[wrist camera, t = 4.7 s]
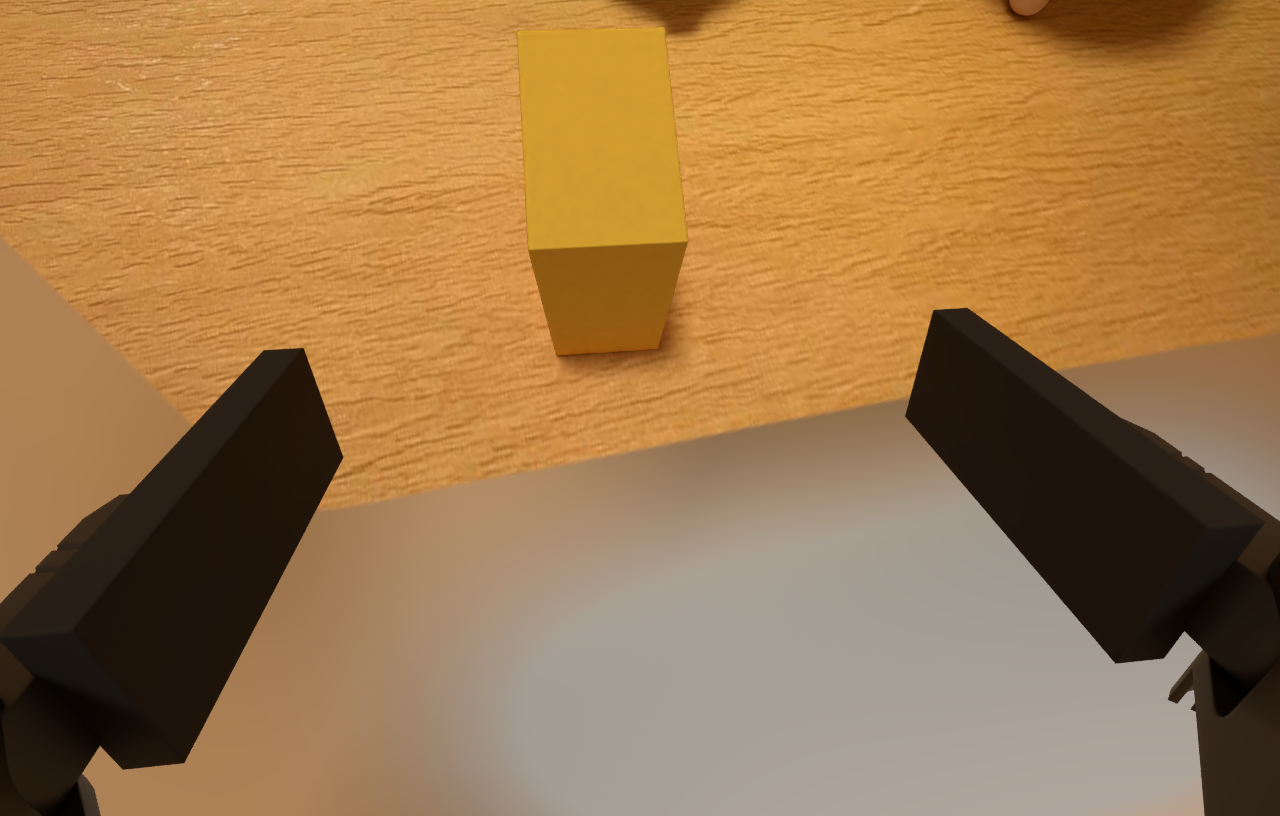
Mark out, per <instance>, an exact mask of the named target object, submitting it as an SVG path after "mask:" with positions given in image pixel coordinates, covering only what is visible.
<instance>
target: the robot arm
mask: <svg viewBox="0 0 1280 816" xmlns="http://www.w3.org/2000/svg"><path fill="white" fill-rule="evenodd" d="M905 417H906V418H907V419H908V420H909V421H910V423H911V424H912V425H913V426H914V427H915V428H916V430H917V431H918V432H919V433H920V434H921V436H922V437H923V438H924V439H925V440H926V441H927V443H928V444H929V445H930V446H931V447H932V448H933V450H934V451H935V452H936V453H937V454H938V455H939V457H940V458H941V459H942V460H943V461H944V462H945V464H946V465H947V466H948V467H949V468H950V470H951V471H952V472H953V473H954V474H955V475H956V477H957V478H958V479H959V480H960V481H961V482H962V484H963V485H964V486H965V487H966V488H967V489H968V491H969V492H970V493H971V494H972V495H973V496H974V498H975V499H976V500H977V501H978V502H979V503H980V505H981V506H982V507H983V508H984V509H985V511H986V512H987V513H988V514H989V515H990V516H991V518H992V519H993V520H994V521H995V522H996V524H997V525H998V526H999V527H1000V528H1001V530H1002V531H1003V532H1004V533H1005V534H1006V535H1007V537H1008V538H1009V539H1010V540H1011V541H1012V542H1013V544H1014V545H1015V546H1016V547H1017V548H1018V549H1019V551H1020V552H1021V553H1022V554H1023V555H1024V556H1025V558H1026V559H1027V560H1028V561H1029V562H1030V564H1031V565H1032V566H1033V567H1034V568H1035V569H1036V571H1037V572H1038V573H1039V574H1040V575H1041V577H1042V578H1043V579H1044V580H1045V581H1046V582H1047V584H1048V585H1049V586H1050V587H1051V588H1052V589H1053V591H1054V592H1055V593H1056V594H1057V595H1058V597H1059V598H1060V599H1061V600H1062V601H1063V602H1064V604H1065V605H1066V606H1067V607H1068V608H1069V609H1070V611H1071V612H1072V613H1073V614H1074V615H1075V616H1076V617H1077V619H1078V620H1079V621H1080V622H1081V624H1082V625H1083V626H1084V627H1085V628H1086V629H1087V630H1088V632H1089V633H1090V634H1091V635H1092V636H1093V638H1094V639H1095V640H1096V641H1097V642H1098V644H1099V645H1100V646H1101V647H1102V648H1103V649H1104V651H1106V653H1107V654H1108V655H1109V656H1110V658H1111V659H1112V660H1113V661H1114V662H1115V663H1126V662H1135V661H1144V660H1154V659H1163V658H1164V657H1165V656H1166V655H1167V653H1168V652H1169V651H1170V649H1171V648H1172V647H1173V645H1174V644H1175V643H1176V641H1177V640H1178V639H1179V637H1180V636H1181V635H1182V633H1183V632H1184V631H1185V632H1186V633H1187V634H1188V635H1189V636H1190V637H1191V638H1192V639H1193V640H1194V641H1196V643H1197V644H1198V645H1200V647H1201V648H1202V649H1203V650H1202V651H1201V652H1200V653H1199V655H1198V656H1197V657H1196V658H1195V660H1194V661H1193V662H1192V663H1191V665H1190V666H1189V667H1188V669H1187V670H1186V671H1185V672H1184V674H1183V675H1182V676H1181V678H1180V679H1179V680H1178V681H1177V682H1176V684H1175V685H1174V686H1173V687H1172V689H1171V691H1170V695H1169V698H1168V700H1170V701H1172V702H1175V703H1178V702H1179V701H1180V700H1181V698H1182V697H1183V696H1184V695H1185V694H1186V692H1188V691H1191V690H1194V694H1195V704H1194V705H1193V706H1192V708H1191V710H1193V711H1195V712H1196V718H1197V729H1198V742H1199V754H1200V765H1201V777H1202V789H1203V801H1204V812H1205V816H1280V521H1278V520H1277V519H1275V518H1274V517H1273V516H1271V515H1270V514H1268V513H1267V512H1266V511H1264V510H1263V509H1261V508H1260V507H1259V506H1257V505H1256V504H1254V503H1253V502H1251V501H1250V500H1249V499H1247V498H1246V497H1244V496H1243V495H1241V494H1240V493H1239V492H1237V491H1236V490H1234V489H1233V488H1232V487H1230V486H1229V485H1227V484H1226V483H1224V482H1223V481H1222V480H1220V479H1219V478H1217V477H1216V476H1214V475H1213V474H1212V473H1205V471H1204V468H1203V467H1201V466H1200V465H1198V464H1197V463H1196V462H1194V461H1193V460H1192V459H1190V458H1189V457H1183V456H1182V454H1181V453H1182V452H1180V451H1179V450H1177V449H1176V448H1175V447H1173V446H1172V445H1170V444H1169V443H1167V442H1166V441H1165V440H1163V439H1162V438H1160V437H1159V436H1158V435H1156V434H1155V433H1153V432H1151V431H1148V430H1146V429H1144V428H1142V427H1140V426H1137V425H1135V424H1133V423H1131V422H1129V421H1127V420H1124V419H1122V418H1120V417H1118V416H1117V415H1116V414H1114V413H1113V412H1111V411H1110V410H1109V409H1107V408H1106V407H1104V406H1103V405H1102V404H1100V403H1099V402H1097V401H1096V400H1095V399H1093V398H1091V397H1090V396H1089V395H1088V394H1086V393H1085V392H1084V391H1082V390H1081V389H1079V388H1078V387H1077V386H1075V385H1074V384H1073V383H1071V382H1070V381H1068V380H1067V379H1066V378H1064V377H1063V376H1061V375H1060V374H1059V373H1057V372H1056V371H1054V370H1053V369H1052V368H1050V367H1049V366H1047V365H1046V364H1045V363H1043V362H1042V361H1040V360H1039V359H1038V358H1036V357H1035V356H1034V355H1032V354H1031V353H1029V352H1028V351H1027V350H1025V349H1024V348H1022V347H1021V346H1020V345H1018V344H1017V343H1015V342H1014V341H1013V340H1011V339H1010V338H1008V337H1007V336H1006V335H1004V334H1003V333H1002V332H1000V331H999V330H997V329H996V328H995V327H993V326H992V325H990V324H989V323H988V322H986V321H985V320H983V319H982V318H981V317H979V316H978V315H976V314H975V313H974V312H972V311H971V310H970V309H968V308H959V309H942V310H933V314H932V317H931V321H930V325H929V329H928V333H927V336H926V340H925V344H924V348H923V351H922V355H921V359H920V363H919V366H918V370H917V374H916V378H915V381H914V385H913V389H912V393H911V396H910V400H909V405H908V408H907V412H906V415H905ZM342 459H343V455H342V453H341V450H340V447H339V444H338V442H337V439H336V436H335V433H334V431H333V428H332V425H331V422H330V420H329V417H328V414H327V411H326V409H325V406H324V403H323V400H322V398H321V395H320V392H319V389H318V387H317V384H316V381H315V378H314V376H313V373H312V370H311V367H310V365H309V362H308V359H307V356H306V354H305V351H304V348H296V349H279V350H264V351H263V352H262V353H261V354H260V355H259V356H258V357H257V358H256V359H255V360H254V361H253V362H252V363H251V365H250V366H249V367H248V368H247V369H246V370H245V371H244V372H243V373H242V374H241V375H240V376H239V377H238V378H237V379H236V381H235V382H234V383H233V384H232V385H231V386H230V387H229V388H228V389H227V390H226V391H225V392H224V393H223V394H222V396H221V397H220V398H219V399H218V400H217V401H216V402H215V403H214V404H213V405H212V406H211V407H210V408H209V409H208V411H207V412H206V413H205V414H204V415H203V416H202V417H201V418H200V419H199V420H198V421H197V422H196V423H195V424H194V426H193V427H192V428H191V429H190V430H189V431H188V432H187V433H186V434H185V435H184V436H183V437H182V438H181V439H180V441H179V442H178V443H177V444H176V445H175V446H174V447H173V448H172V449H171V450H170V451H169V452H168V454H166V456H165V457H164V458H163V459H162V460H161V461H160V462H159V463H158V464H157V465H156V466H155V467H154V468H153V469H152V471H151V472H150V473H149V474H148V475H147V476H146V477H145V478H144V479H143V480H142V481H141V483H139V484H138V486H137V487H136V488H135V489H134V490H133V491H132V492H131V493H130V494H125V495H119V496H117V497H116V498H114V499H113V500H111V501H110V502H108V503H107V504H105V505H104V506H102V507H100V508H99V509H97V510H96V511H94V512H93V513H92V514H90V515H88V516H87V517H85V518H84V519H83V520H82V521H81V522H80V523H79V524H78V525H77V526H76V527H75V528H74V529H73V530H72V531H71V532H70V533H69V534H68V535H67V536H66V537H65V538H64V539H63V540H62V541H61V542H60V543H59V544H58V545H57V546H58V549H57V551H51V552H50V553H49V554H48V555H47V556H46V557H45V558H44V559H43V560H42V562H41V563H40V564H39V565H38V566H37V567H36V568H35V569H36V572H35V573H33V574H29V575H28V576H27V577H26V578H25V579H24V580H23V581H22V582H21V583H20V584H19V585H18V586H17V587H16V588H15V589H14V590H13V591H12V592H11V593H10V594H9V595H8V596H7V597H6V598H5V599H4V600H3V601H2V602H1V604H0V816H101V815H100V811H99V807H98V803H97V799H96V794H95V790H94V788H93V787H92V785H91V784H90V782H89V781H88V780H87V778H86V777H85V776H84V775H83V774H82V772H83V771H84V769H85V768H86V766H87V765H88V763H89V762H90V760H91V758H92V757H93V756H94V754H95V752H96V751H97V749H98V748H99V746H101V747H102V748H103V749H104V750H105V751H106V752H107V754H108V755H109V756H110V757H111V758H112V759H113V760H114V761H115V762H116V763H117V764H118V765H119V766H120V767H121V768H122V769H123V770H124V769H134V768H143V767H152V766H162V765H171V764H180V763H185V761H186V759H187V757H188V755H189V753H190V751H191V749H192V747H193V745H194V743H195V741H196V739H197V737H198V736H199V734H200V732H201V730H202V728H203V726H204V724H205V722H206V720H207V718H208V716H209V715H210V713H211V711H212V709H213V707H214V705H215V703H216V701H217V699H218V697H219V695H220V693H221V691H222V690H223V688H224V686H225V684H226V682H227V680H228V678H229V676H230V674H231V672H232V670H233V668H234V667H235V664H236V663H237V661H238V659H239V657H240V655H241V653H242V651H243V649H244V647H245V645H246V643H247V641H248V639H249V638H250V636H251V634H252V632H253V630H254V628H255V626H256V624H257V622H258V620H259V619H260V617H261V614H262V613H263V611H264V609H265V607H266V605H267V603H268V601H269V599H270V597H271V595H272V594H273V592H274V589H275V588H276V586H277V584H278V582H279V580H280V578H281V576H282V574H283V572H284V570H285V569H286V566H287V564H288V563H289V561H290V559H291V557H292V555H293V553H294V551H295V549H296V547H297V546H298V544H299V542H300V540H301V538H302V536H303V534H304V532H305V530H306V528H307V526H308V524H309V522H310V521H311V519H312V517H313V514H314V513H315V511H316V509H317V507H318V505H319V503H320V501H321V499H322V498H323V496H324V494H325V492H326V490H327V488H328V486H329V484H330V482H331V480H332V478H333V476H334V474H335V473H336V471H337V469H338V467H339V465H340V463H341V461H342Z"/></svg>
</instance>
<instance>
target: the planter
mask: <svg viewBox="0 0 1280 816" xmlns="http://www.w3.org/2000/svg"><path fill="white" fill-rule="evenodd" d="M1009 2H1010V6H1011V8H1012V9H1013V10H1014V11H1015V12H1016V13H1018V14H1020V15H1024V16H1028V15H1033V14H1035V13H1037V12H1039V11H1040V10H1041V9H1043V8H1044V6H1045V5H1046V4H1047V3H1048V2H1049V0H1009Z"/></svg>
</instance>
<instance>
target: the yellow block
mask: <svg viewBox="0 0 1280 816" xmlns="http://www.w3.org/2000/svg"><path fill="white" fill-rule="evenodd" d="M517 42H518V62H519V82H520V102H521V121H522V141H523V161H524V181H525V201H526V221H527V241H528V251H529V255H530V259H531V263H532V266H533V270H534V274H535V278H536V281H537V285H538V289H539V293H540V296H541V300H542V304H543V308H544V311H545V315H546V319H547V323H548V326H549V330H550V334H551V338H552V341H553V345H554V349H555V353H556V355H571V354H587V353H603V352H618V351H634V350H649V349H658V346H659V343H660V339H661V336H662V332H663V329H664V325H665V321H666V318H667V314H668V311H669V307H670V304H671V300H672V297H673V293H674V289H675V286H676V282H677V279H678V275H679V272H680V268H681V265H682V261H683V258H684V254H685V250H686V247H687V243H688V235H687V226H686V217H685V208H684V199H683V190H682V181H681V172H680V163H679V154H678V145H677V135H676V126H675V117H674V108H673V99H672V90H671V81H670V72H669V63H668V54H667V45H666V36H665V29H664V27H656V28H615V29H573V30H532V31H517Z"/></svg>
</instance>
